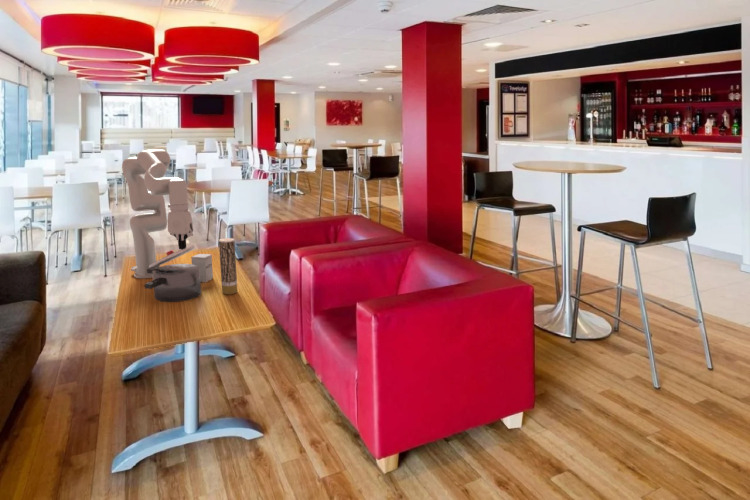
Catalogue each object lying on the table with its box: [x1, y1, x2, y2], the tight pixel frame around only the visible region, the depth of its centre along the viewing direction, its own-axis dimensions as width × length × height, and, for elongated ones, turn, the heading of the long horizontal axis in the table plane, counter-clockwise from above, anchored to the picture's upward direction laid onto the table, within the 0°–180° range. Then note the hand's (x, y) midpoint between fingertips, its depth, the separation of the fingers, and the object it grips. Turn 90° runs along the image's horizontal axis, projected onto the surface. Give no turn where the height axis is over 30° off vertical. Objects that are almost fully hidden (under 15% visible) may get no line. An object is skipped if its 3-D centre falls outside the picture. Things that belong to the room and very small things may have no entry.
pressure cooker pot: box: [144, 263, 202, 303], centre depth 244 cm, size 23×30×12 cm
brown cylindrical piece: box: [218, 237, 238, 295], centre depth 250 cm, size 7×7×25 cm
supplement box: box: [191, 253, 214, 283], centre depth 271 cm, size 7×7×13 cm
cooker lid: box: [149, 244, 196, 269], centre depth 246 cm, size 21×21×4 cm
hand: (182, 248), depth 243 cm, fingers closed
